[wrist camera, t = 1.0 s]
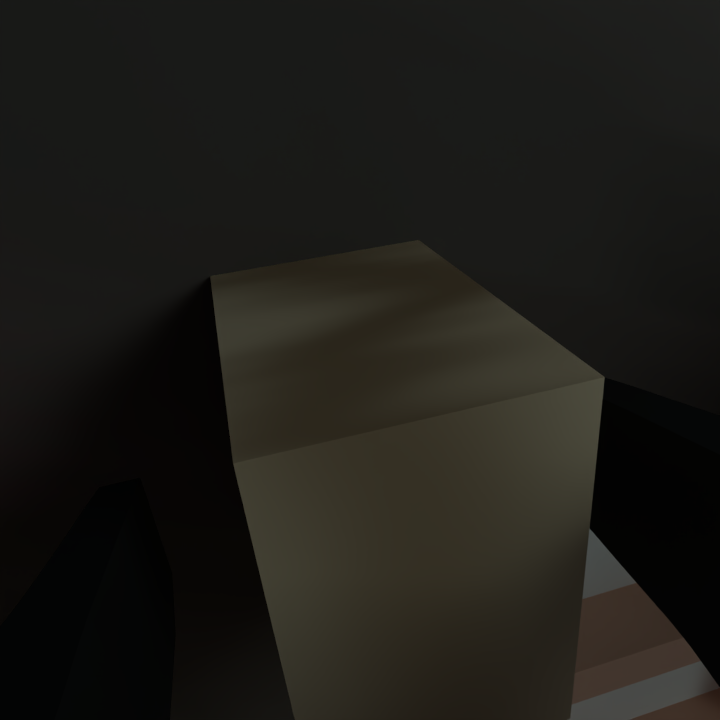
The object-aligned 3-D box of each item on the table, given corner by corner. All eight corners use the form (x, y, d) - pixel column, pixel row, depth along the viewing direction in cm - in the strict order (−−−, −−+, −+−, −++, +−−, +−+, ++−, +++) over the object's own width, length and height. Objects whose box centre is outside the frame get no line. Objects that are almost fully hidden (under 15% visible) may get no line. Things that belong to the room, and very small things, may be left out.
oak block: (417, 239, 12) (604, 377, 6) (430, 483, 14) (570, 718, 9) (210, 275, 11) (233, 463, 6) (265, 525, 14) (315, 805, 9)
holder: (917, 390, 18) (1036, 442, 15) (802, 692, 24) (872, 763, 22) (315, 548, 14) (341, 648, 12) (368, 849, 21) (392, 954, 18)
